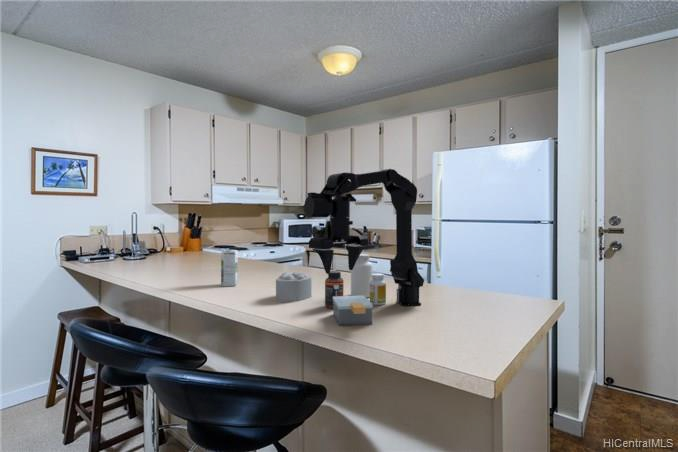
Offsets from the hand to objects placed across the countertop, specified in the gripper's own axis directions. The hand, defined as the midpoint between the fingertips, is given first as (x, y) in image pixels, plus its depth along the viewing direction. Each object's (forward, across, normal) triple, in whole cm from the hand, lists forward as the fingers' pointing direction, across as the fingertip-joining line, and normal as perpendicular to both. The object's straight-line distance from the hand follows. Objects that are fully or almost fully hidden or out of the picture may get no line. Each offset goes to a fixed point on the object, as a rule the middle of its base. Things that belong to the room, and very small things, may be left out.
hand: (339, 271), depth 102 cm
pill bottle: (+14, -24, -13) cm, 31 cm away
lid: (+9, 0, +5) cm, 10 cm away
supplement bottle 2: (+14, -20, -3) cm, 25 cm away
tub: (+13, -2, +4) cm, 14 cm away
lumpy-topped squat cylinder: (+14, -4, -28) cm, 32 cm away
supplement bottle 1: (+14, -7, -10) cm, 18 cm away
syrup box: (+14, +1, -64) cm, 66 cm away
